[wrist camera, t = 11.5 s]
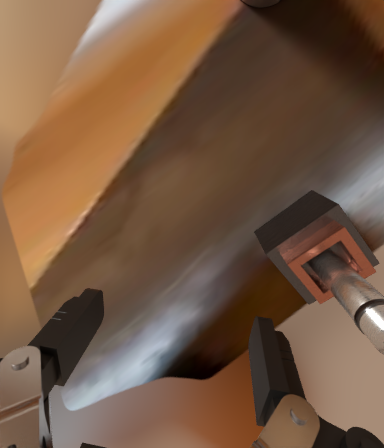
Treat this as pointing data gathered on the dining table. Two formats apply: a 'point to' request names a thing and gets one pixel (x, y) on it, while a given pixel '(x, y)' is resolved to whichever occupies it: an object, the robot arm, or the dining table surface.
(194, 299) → the dining table surface
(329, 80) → the dining table surface
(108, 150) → the dining table surface
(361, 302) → the steel tube
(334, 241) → the block
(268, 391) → the robot arm
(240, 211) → the dining table surface
